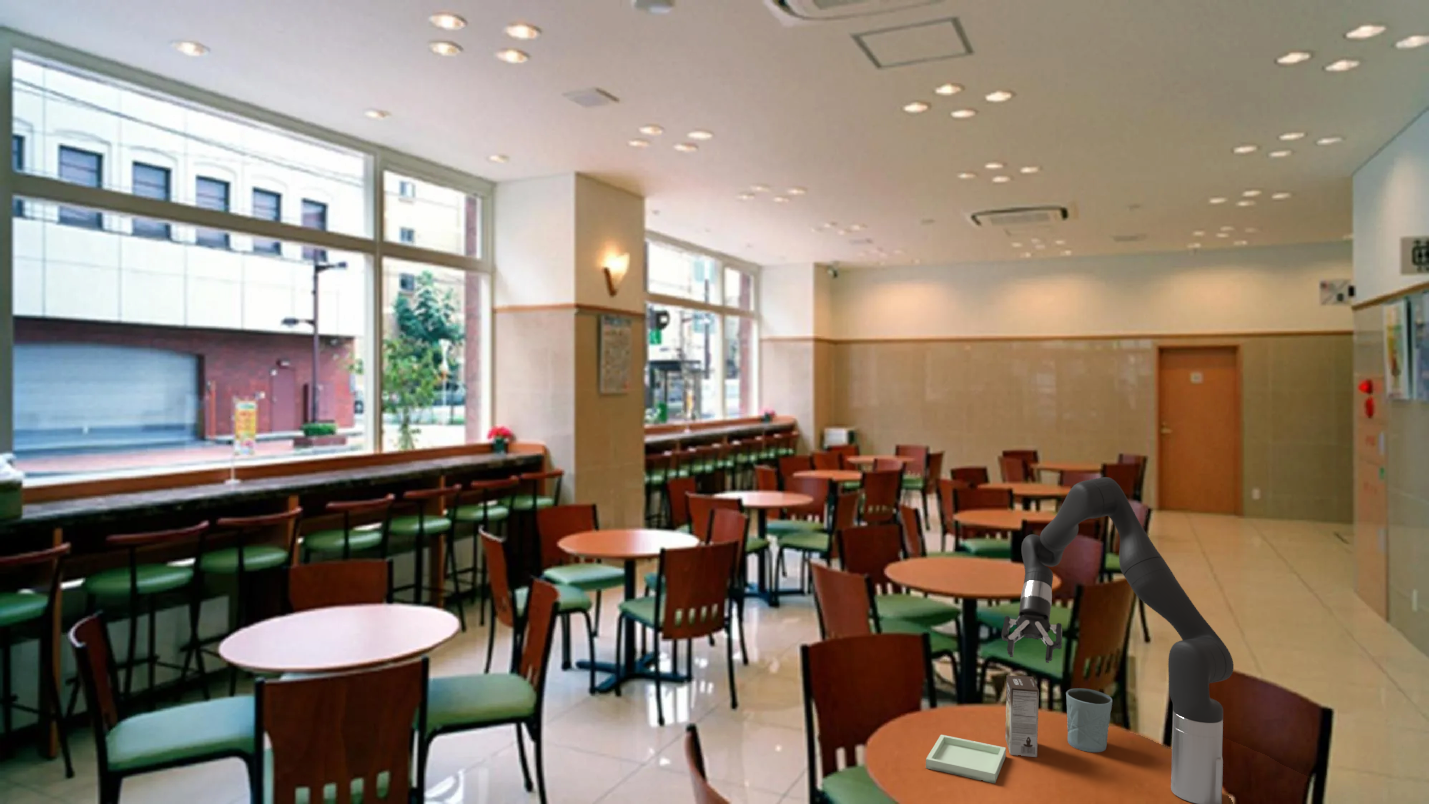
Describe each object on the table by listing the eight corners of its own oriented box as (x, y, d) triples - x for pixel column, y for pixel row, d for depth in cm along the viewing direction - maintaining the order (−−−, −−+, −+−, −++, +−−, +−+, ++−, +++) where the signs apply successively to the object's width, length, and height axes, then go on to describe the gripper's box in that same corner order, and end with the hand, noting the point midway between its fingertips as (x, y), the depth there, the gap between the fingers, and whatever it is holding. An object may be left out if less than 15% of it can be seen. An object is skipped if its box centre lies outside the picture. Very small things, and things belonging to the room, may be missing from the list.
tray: (1005, 756, 197) (1005, 747, 197) (994, 783, 183) (995, 773, 183) (940, 742, 204) (940, 734, 204) (925, 767, 190) (925, 758, 190)
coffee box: (1004, 738, 206) (1005, 673, 206) (1031, 741, 205) (1033, 676, 205) (1009, 755, 197) (1011, 687, 197) (1038, 757, 196) (1040, 689, 196)
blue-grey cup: (1059, 734, 209) (1060, 686, 209) (1102, 736, 208) (1103, 688, 208) (1073, 752, 199) (1074, 702, 199) (1117, 755, 198) (1118, 704, 198)
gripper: (1005, 591, 222) (997, 646, 212) (1064, 598, 215) (1058, 655, 205) (1008, 606, 226) (1000, 661, 216) (1065, 613, 220) (1060, 670, 210)
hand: (1029, 658), depth 211 cm, fingers open, 8 cm apart
